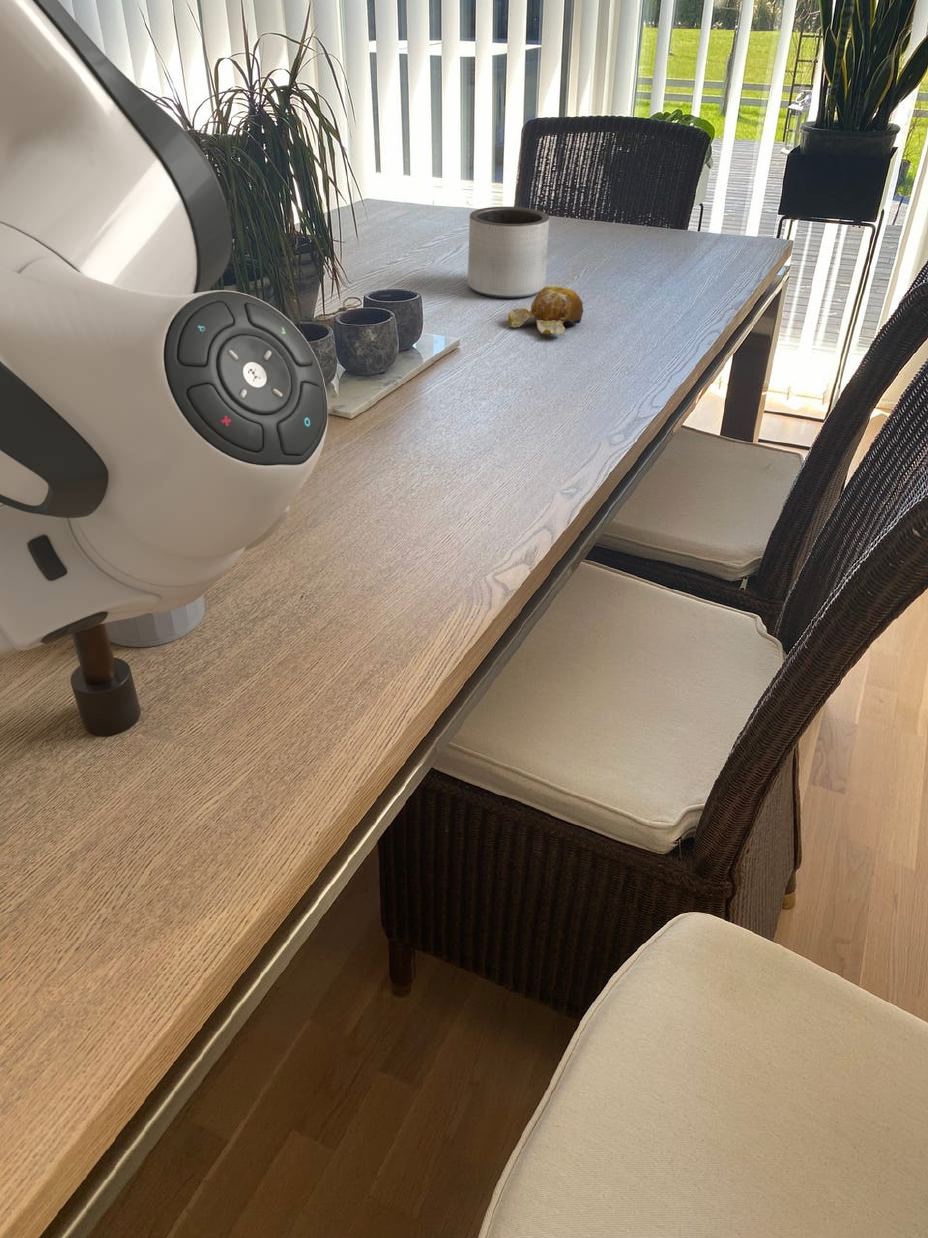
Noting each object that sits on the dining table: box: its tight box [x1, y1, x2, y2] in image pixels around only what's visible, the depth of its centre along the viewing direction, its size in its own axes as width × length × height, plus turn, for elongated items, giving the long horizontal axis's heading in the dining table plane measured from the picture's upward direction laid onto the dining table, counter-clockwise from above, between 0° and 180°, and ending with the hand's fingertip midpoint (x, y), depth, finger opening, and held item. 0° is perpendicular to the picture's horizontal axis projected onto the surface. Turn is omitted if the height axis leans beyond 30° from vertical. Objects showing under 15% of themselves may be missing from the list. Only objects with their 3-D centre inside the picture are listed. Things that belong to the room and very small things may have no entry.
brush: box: [69, 623, 141, 737], centre depth 64 cm, size 4×4×16 cm
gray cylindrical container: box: [105, 594, 206, 648], centre depth 75 cm, size 9×9×12 cm
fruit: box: [507, 286, 584, 336], centre depth 137 cm, size 11×11×5 cm
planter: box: [467, 206, 550, 299], centre depth 150 cm, size 12×12×11 cm
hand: (97, 601), depth 60 cm, fingers open, 8 cm apart
